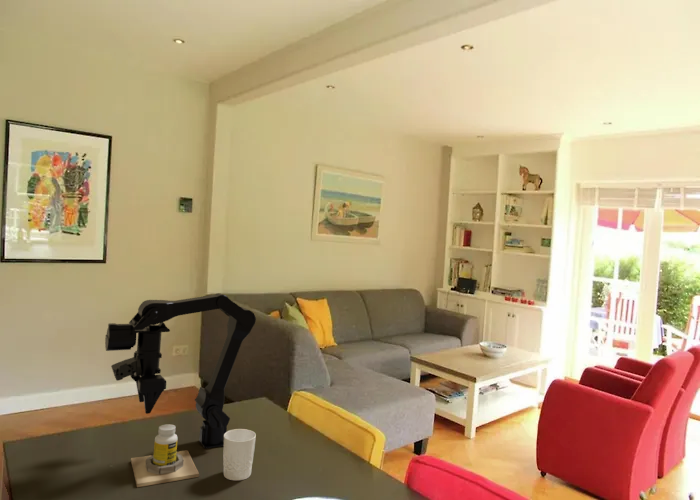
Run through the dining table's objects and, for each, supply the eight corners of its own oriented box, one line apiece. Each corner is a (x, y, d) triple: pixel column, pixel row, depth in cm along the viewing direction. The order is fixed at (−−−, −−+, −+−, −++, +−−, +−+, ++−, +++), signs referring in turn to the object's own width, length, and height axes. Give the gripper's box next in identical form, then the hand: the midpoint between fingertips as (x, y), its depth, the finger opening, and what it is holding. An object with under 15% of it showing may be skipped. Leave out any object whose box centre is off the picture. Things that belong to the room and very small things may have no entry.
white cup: (237, 485, 118) (240, 444, 118) (214, 475, 122) (216, 435, 122) (259, 473, 125) (262, 434, 125) (237, 464, 129) (239, 426, 129)
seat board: (187, 453, 133) (187, 444, 133) (198, 476, 121) (199, 467, 121) (130, 461, 126) (131, 452, 126) (137, 487, 114) (137, 477, 114)
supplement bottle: (168, 472, 121) (170, 432, 120) (148, 468, 122) (150, 429, 121) (179, 462, 126) (182, 424, 126) (160, 459, 127) (163, 421, 127)
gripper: (110, 342, 133) (106, 399, 134) (120, 359, 117) (115, 424, 118) (154, 340, 139) (150, 395, 140) (168, 356, 123) (164, 418, 124)
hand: (144, 407), depth 130 cm, fingers open, 9 cm apart
